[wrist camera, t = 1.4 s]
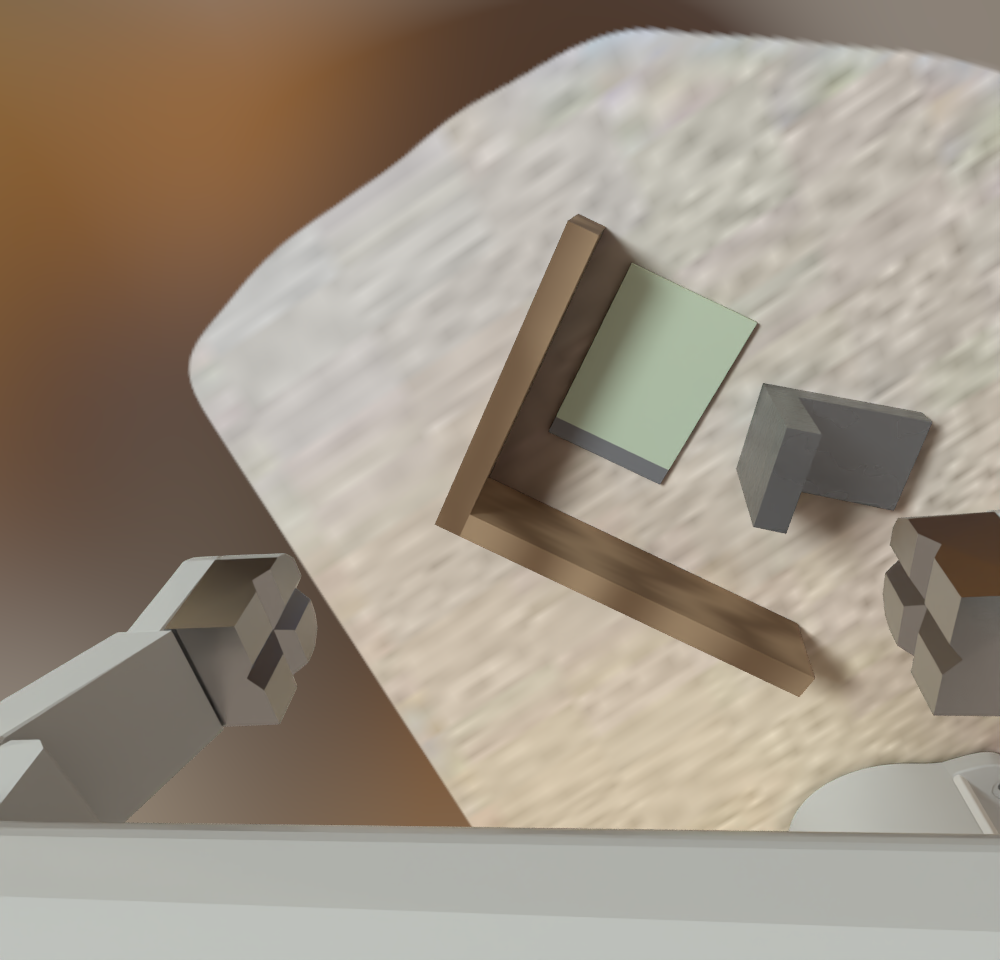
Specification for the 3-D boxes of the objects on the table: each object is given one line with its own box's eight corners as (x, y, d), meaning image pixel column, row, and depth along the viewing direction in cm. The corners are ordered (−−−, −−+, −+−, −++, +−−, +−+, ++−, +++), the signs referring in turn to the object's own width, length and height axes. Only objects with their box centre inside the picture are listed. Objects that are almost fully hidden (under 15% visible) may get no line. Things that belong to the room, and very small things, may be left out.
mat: (756, 321, 36) (757, 322, 35) (659, 482, 40) (659, 484, 40) (631, 262, 35) (631, 263, 35) (549, 429, 40) (548, 431, 40)
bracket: (921, 412, 36) (979, 464, 30) (885, 498, 38) (932, 564, 32) (763, 382, 37) (786, 427, 30) (736, 468, 39) (753, 526, 33)
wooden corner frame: (974, 401, 35) (1022, 436, 31) (783, 641, 43) (799, 696, 38) (578, 213, 35) (567, 220, 31) (457, 486, 43) (434, 524, 38)
